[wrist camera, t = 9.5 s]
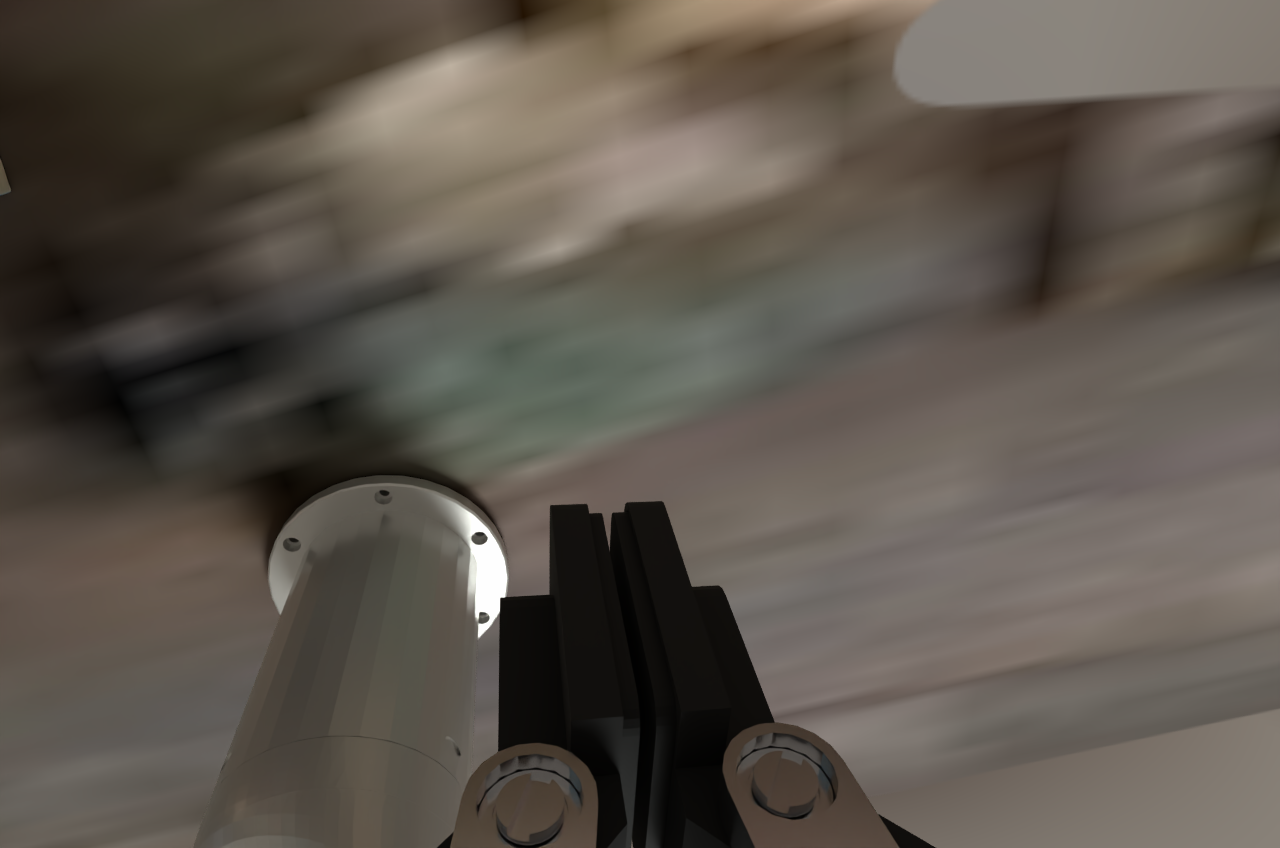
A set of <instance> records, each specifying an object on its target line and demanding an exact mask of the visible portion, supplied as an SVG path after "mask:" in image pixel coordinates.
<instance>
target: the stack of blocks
mask: <svg viewBox="0 0 1280 848" xmlns="http://www.w3.org/2000/svg"><path fill="white" fill-rule="evenodd" d="M10 192H11V189H10V186H9V183H8V180H7V177H6V174H5V170H4V167H3V164H2V161H1V159H0V196H1V195H4V194H7V193H10Z"/></svg>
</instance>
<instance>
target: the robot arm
mask: <svg viewBox="0 0 1280 848" xmlns="http://www.w3.org/2000/svg"><path fill="white" fill-rule="evenodd" d="M383 490H386V491H387V492H386V491H383ZM508 581H509V567H508V557H507V553H506V549H505V545H504V542H503V540H502V538H501V536H500V534H499V532H498V530H497V528H496V526H495V525H494V524H493V523H492V522H491V520H490V519H489V518H488V517H487V515H486V514H485V513H484V512H483V511H482V510H481V509H480V508H478V507H477V506H476V505H475V504H474V503H472V502H471V501H470V500H469V499H467V498H466V497H464V496H462V495H460V494H459V493H457V492H455V491H453V490H451V489H450V488H448V487H445V486H442V485H439V484H436V483H434V482H431V481H428V480H424V479H418V478H413V477H407V476H395V475H376V476H369V477H362V478H355V479H352V480H348V481H345V482H342V483H339V484H336V485H333V486H331V487H329V488H327V489H325V490H323V491H321V492H319V493H317V494H315V495H313V496H312V497H311V498H309V499H308V500H307V501H306V502H304V503H303V504H302V505H301V506H299V507H298V508H297V509H296V510H295V511H294V512H293V514H292V515H291V516H290V517H289V519H288V520H287V521H286V522H285V524H284V525H283V527H282V529H281V531H280V533H279V535H278V537H277V539H276V541H275V543H274V546H273V549H272V552H271V555H270V558H269V566H268V583H269V588H270V594H271V597H272V599H273V602H274V604H275V606H276V608H277V611H278V613H279V614H280V618H279V621H278V623H277V626H276V628H275V631H274V634H273V636H272V639H271V642H270V644H269V647H268V649H267V652H266V655H265V657H264V660H263V662H262V665H261V668H260V670H259V673H258V675H257V678H256V681H255V683H254V686H253V689H252V691H251V694H250V696H249V699H248V702H247V704H246V707H245V709H244V712H243V715H242V717H241V720H240V723H239V725H238V728H237V730H236V733H235V736H234V738H233V741H232V743H231V746H230V749H229V751H228V754H227V757H226V759H225V762H224V764H223V767H222V770H221V772H220V775H219V778H218V781H217V783H216V786H215V788H214V791H213V794H212V796H211V799H210V801H209V804H208V806H207V809H206V812H205V814H204V817H203V820H202V823H201V825H200V828H199V831H198V834H197V837H196V840H195V844H194V848H631V841H632V842H633V848H935V847H934V846H932V845H930V844H929V843H927V842H925V841H923V840H922V839H920V838H918V837H917V836H915V835H913V834H911V833H910V832H908V831H906V830H905V829H903V828H901V827H900V826H898V825H896V824H894V823H892V822H891V821H889V820H888V819H886V818H884V817H882V816H881V815H879V814H877V812H876V810H875V809H874V807H873V806H872V804H871V803H870V801H869V799H868V798H867V796H866V795H865V793H864V792H863V790H862V788H861V787H860V785H859V784H858V782H857V781H856V779H855V777H854V776H853V774H852V773H851V771H850V770H849V768H848V767H847V765H846V763H845V762H844V760H843V759H842V758H841V757H840V755H839V754H838V753H837V752H836V751H835V750H834V748H833V747H832V746H831V745H830V744H828V743H827V742H826V741H824V740H823V739H822V738H820V737H819V736H817V735H816V734H815V733H812V732H810V731H808V730H805V729H803V728H800V727H798V726H795V725H789V724H783V723H775V722H774V719H773V717H772V714H771V712H770V709H769V706H768V704H767V701H766V699H765V696H764V693H763V691H762V688H761V686H760V683H759V680H758V678H757V675H756V673H755V670H754V667H753V665H752V662H751V660H750V657H749V654H748V652H747V649H746V647H745V644H744V642H743V639H742V636H741V634H740V631H739V629H738V626H737V623H736V621H735V618H734V616H733V613H732V610H731V608H730V605H729V603H728V600H727V597H726V595H725V593H724V591H723V589H722V588H721V587H720V586H700V587H692V586H691V583H690V580H689V577H688V574H687V571H686V568H685V565H684V562H683V559H682V556H681V553H680V550H679V547H678V544H677V541H676V538H675V535H674V532H673V529H672V526H671V523H670V520H669V517H668V514H667V511H666V508H665V505H664V503H663V502H662V501H655V502H628V503H626V504H625V509H624V512H619V513H612V518H611V536H610V551H609V546H608V541H607V536H606V531H605V526H604V521H603V516H602V513H592V514H589V510H588V505H587V504H573V505H550V595H537V596H518V597H506V596H507V590H508ZM499 613H500V639H499V734H498V752H497V753H496V754H494V755H493V756H491V757H490V758H489V759H487V760H486V761H484V762H483V763H482V764H481V765H480V766H479V767H478V768H477V770H476V771H475V772H474V773H473V774H472V758H473V736H474V714H475V692H476V669H477V647H478V639H479V638H480V637H481V636H482V635H483V634H484V633H485V632H486V631H487V630H488V629H489V628H490V627H491V626H492V624H493V623H494V621H495V619H496V618H497V616H498V615H499Z"/></svg>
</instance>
